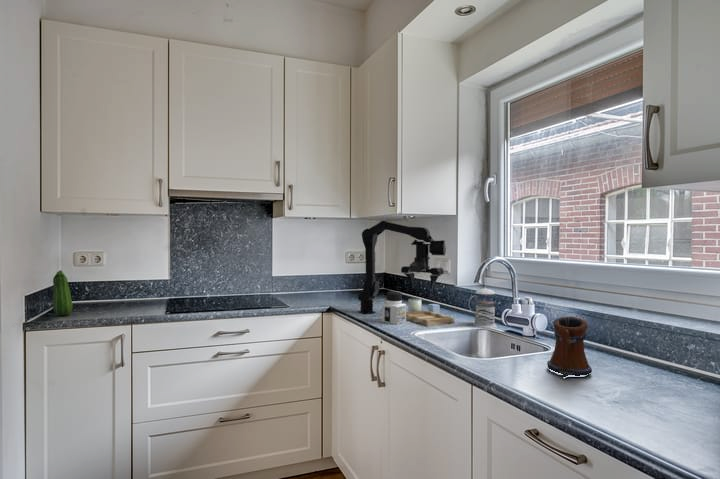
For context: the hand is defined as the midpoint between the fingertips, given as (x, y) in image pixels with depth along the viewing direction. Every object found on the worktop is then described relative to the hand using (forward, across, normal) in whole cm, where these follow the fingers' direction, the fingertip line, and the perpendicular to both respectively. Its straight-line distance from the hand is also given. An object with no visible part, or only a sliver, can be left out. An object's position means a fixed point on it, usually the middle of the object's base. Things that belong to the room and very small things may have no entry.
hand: (421, 289), depth 202 cm
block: (+13, 0, +13) cm, 18 cm away
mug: (+13, +67, -51) cm, 86 cm away
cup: (+13, -5, +4) cm, 14 cm away
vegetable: (+12, -129, -91) cm, 159 cm away
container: (+13, -5, -17) cm, 22 cm away
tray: (+13, +5, -5) cm, 15 cm away
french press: (+13, +28, 0) cm, 31 cm away
